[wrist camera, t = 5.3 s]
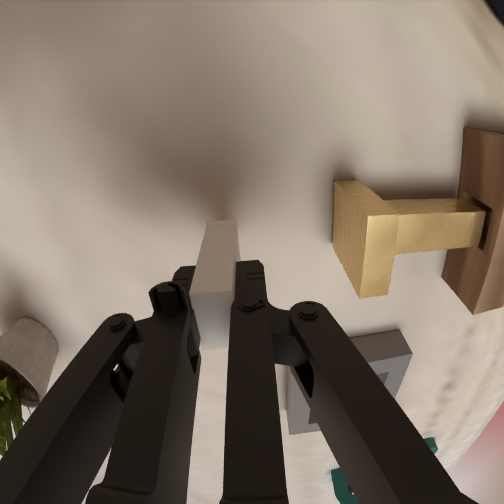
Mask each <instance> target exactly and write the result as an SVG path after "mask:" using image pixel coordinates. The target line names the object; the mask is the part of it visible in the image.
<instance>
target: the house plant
mask: <svg viewBox="0 0 504 504" xmlns="http://www.w3.org/2000/svg"><path fill="white" fill-rule="evenodd" d="M57 353H58V344H57V341H56V340H55V338H54V336H53V335H52V334H51V332H50V331H49V330H48V329H47V328H46V327H45V326H44V325H42V324H41V323H39V322H38V321H36V320H34V319H31V318H28V317H23V318H20V319H19V320H18V321H17V322H16V323H15V324H14V325H12V326H11V327H10V328H9V329H8V330H7V331H6V332H5V333H4V334H3V335H2V336H1V337H0V455H2V456H3V455H4V454H5V452H6V449H7V448H6V441H7V447H8V448H9V446H10V445H11V443H12V442H13V434H12V427H11V421H12V423H13V428H14V432H15V435H16V436H17V434H18V433H19V431H20V430H21V429H22V427H23V422H25V421H24V420H23V418H22V410H21V405H24V406H26V407H28V409H29V407H30V408H36V407H37V406H38V405H39V403H40V402H41V401H42V399H43V398H44V396H45V394H46V390H47V387H48V383H49V380H50V376H51V373H52V369H53V366H54V362H55V359H56V356H57ZM29 412H30V410H29ZM30 414H31V413H30ZM22 421H23V422H22ZM25 423H26V422H25Z"/></svg>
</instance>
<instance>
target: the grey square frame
mask: <svg viewBox="0 0 504 504" xmlns="http://www.w3.org/2000/svg"><path fill="white" fill-rule="evenodd" d="M350 340H351V341H352V342H353V344H354V345H355V346H356V348H357V349H358V350H359V352H360V353H361V354H362V356H363V357H364V358H365V360H366V361H367V362H368V364H369V365H370V366H371V368H372V369H373V370H374V372H375V373H376V375H377V376H378V377H379V379H380V380H381V381H382V383H383V384H384V385H385V387H386V388H387V389H388V391H389V392H390V393H391V395H392V396H393V398H394V399H395V397H396V394H397V392H398V390H399V387H400V385H401V382H402V380H403V377H404V375H405V372H406V370H407V367H408V365H409V362H410V359H411V357H412V354H413V353H412V351H411V350H410V348H409V346H408V344H407V342H406V340H405V338H404V337H403V335H402V333H401V331H400V330H396V331H390V332H384V333H378V334H372V335H366V336H359V337H352V338H350ZM286 411H287V419H288V428H289V435H290V434H299V433H308V432H315V431H321V429H320V428H319V426H318V424H317V422H316V420H315V418H314V416H313V414H312V412H311V410H310V408H309V406H308V404H307V402H306V400H305V398H304V396H303V394H302V392H301V390H300V388H299V386H298V384H297V382H296V380H295V378H294V376H293V374H292V372H291V370H290V366H288V365H287V408H286Z"/></svg>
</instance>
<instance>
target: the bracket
mask: <svg viewBox="0 0 504 504" xmlns="http://www.w3.org/2000/svg"><path fill="white" fill-rule="evenodd" d="M424 441H425V442H426V443H427V445H428V446H429V448H430V449H431V450H432V452H433V453H434V454H435V453H436V452H437V450H438V448H437V445H436V443H435V440H434V438H426V439H424ZM331 475H332V480H333V486H334V492H335V496H336V498H337V499H338V501H339V502H340V504H359V503H358V501H357V499H356V497H355V495H353V494H352V493H353V491H352V489H351V487H350V485H349V484H348V482H347V480H346V478H345V476H344V474H343V472H342V470H341V468H338V469H334V470H331Z"/></svg>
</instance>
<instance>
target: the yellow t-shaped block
mask: <svg viewBox="0 0 504 504" xmlns="http://www.w3.org/2000/svg"><path fill="white" fill-rule="evenodd" d="M485 214H486V211H484V210H483V209H481V208H479V207H478V206H476V205H475V204H473V203H472V202H470V201H468V200H467V199H403V200H382V199H381V198H380V197H379V196H378V195H376V194H375V193H374V192H373V191H372V190H370V189H369V188H368V187H367V186H365V185H364V184H363V183H362V182H361V181H334V223H333V249H334V251H335V253H336V255H337V257H338V258H339V260H340V262H341V264H342V266H343V268H344V270H345V272H346V274H347V276H348V278H349V279H350V281H351V283H352V285H353V287H354V289H355V291H356V293H357V295H358V297H359V298H367V297H374V296H382V295H388V290H389V284H390V279H391V273H392V267H393V261H394V254H403V253H414V252H424V251H434V250H443V249H453V248H463V247H472V246H479V242H480V238H481V233H482V229H483V224H484V219H485Z"/></svg>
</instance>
